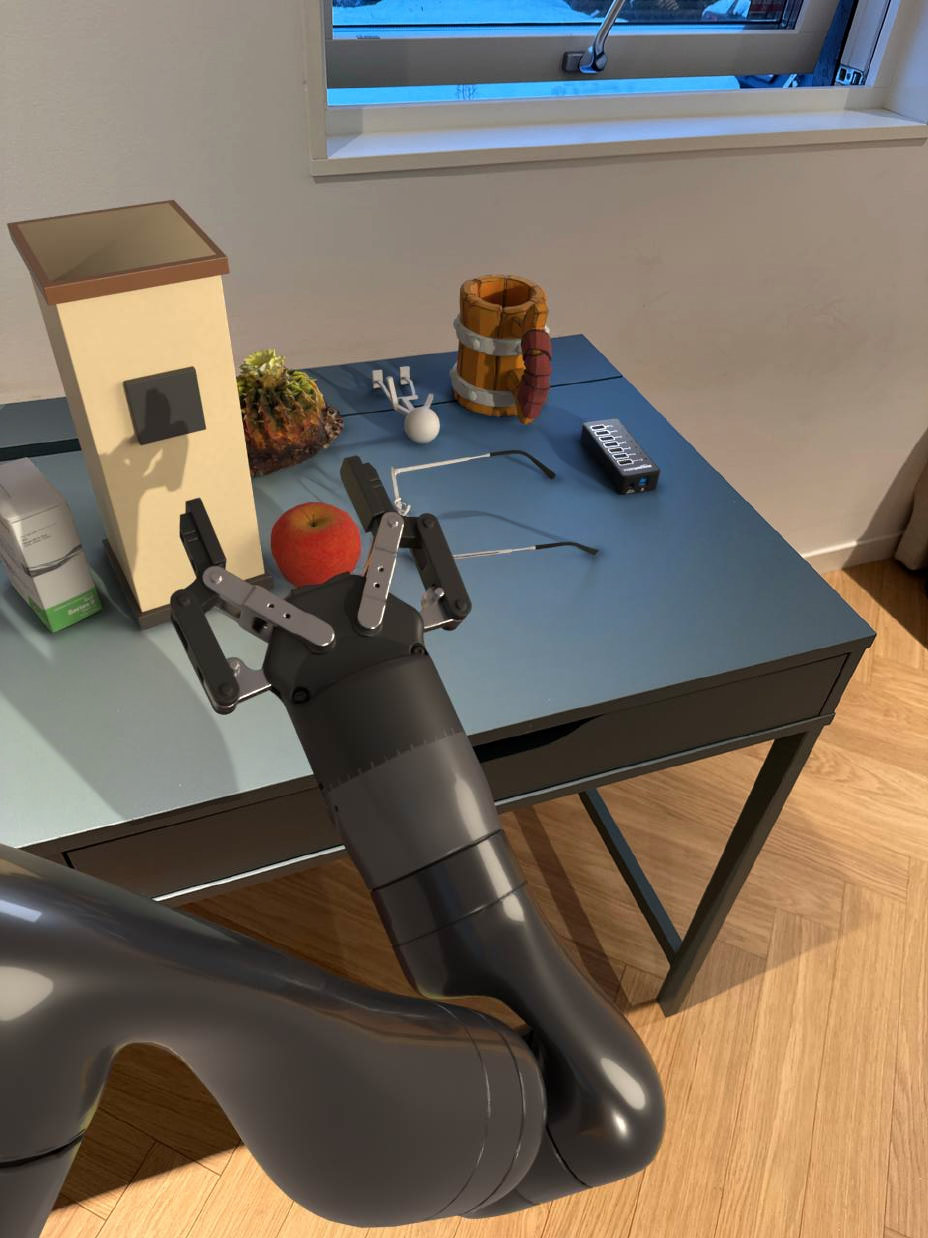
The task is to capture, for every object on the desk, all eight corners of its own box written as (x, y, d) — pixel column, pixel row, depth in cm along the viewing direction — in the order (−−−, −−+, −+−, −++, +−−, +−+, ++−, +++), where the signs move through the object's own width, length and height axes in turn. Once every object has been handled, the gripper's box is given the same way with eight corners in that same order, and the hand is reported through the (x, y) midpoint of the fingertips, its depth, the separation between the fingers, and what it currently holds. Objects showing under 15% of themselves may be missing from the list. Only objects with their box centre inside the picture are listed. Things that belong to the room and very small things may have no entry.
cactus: (248, 385, 108) (237, 306, 101) (369, 414, 104) (366, 335, 97) (162, 458, 96) (144, 374, 89) (295, 494, 92) (286, 410, 86)
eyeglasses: (379, 490, 93) (378, 449, 90) (550, 470, 97) (555, 430, 94) (412, 591, 82) (412, 548, 79) (603, 564, 86) (611, 522, 83)
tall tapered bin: (141, 631, 77) (43, 288, 57) (105, 551, 85) (6, 222, 64) (274, 588, 82) (228, 256, 61) (228, 516, 89) (173, 199, 69)
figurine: (417, 340, 107) (458, 393, 96) (418, 389, 111) (457, 444, 100) (366, 346, 106) (401, 400, 95) (369, 395, 109) (403, 453, 98)
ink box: (106, 610, 79) (71, 500, 71) (50, 636, 76) (7, 524, 68) (63, 561, 83) (26, 452, 75) (9, 583, 81) (-35, 473, 73)
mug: (515, 365, 114) (525, 245, 104) (578, 431, 103) (597, 305, 93) (436, 380, 111) (439, 257, 100) (493, 449, 100) (503, 320, 90)
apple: (379, 579, 83) (377, 510, 78) (317, 622, 79) (310, 553, 73) (321, 543, 87) (315, 475, 81) (258, 582, 82) (247, 513, 77)
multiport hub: (614, 435, 103) (617, 417, 101) (657, 489, 96) (662, 471, 94) (578, 440, 102) (581, 422, 100) (619, 495, 94) (623, 477, 93)
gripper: (547, 699, 43) (410, 412, 46) (265, 821, 38) (130, 486, 41) (497, 732, 50) (380, 480, 53) (252, 840, 44) (137, 551, 48)
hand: (272, 483), depth 47 cm, fingers open, 8 cm apart
